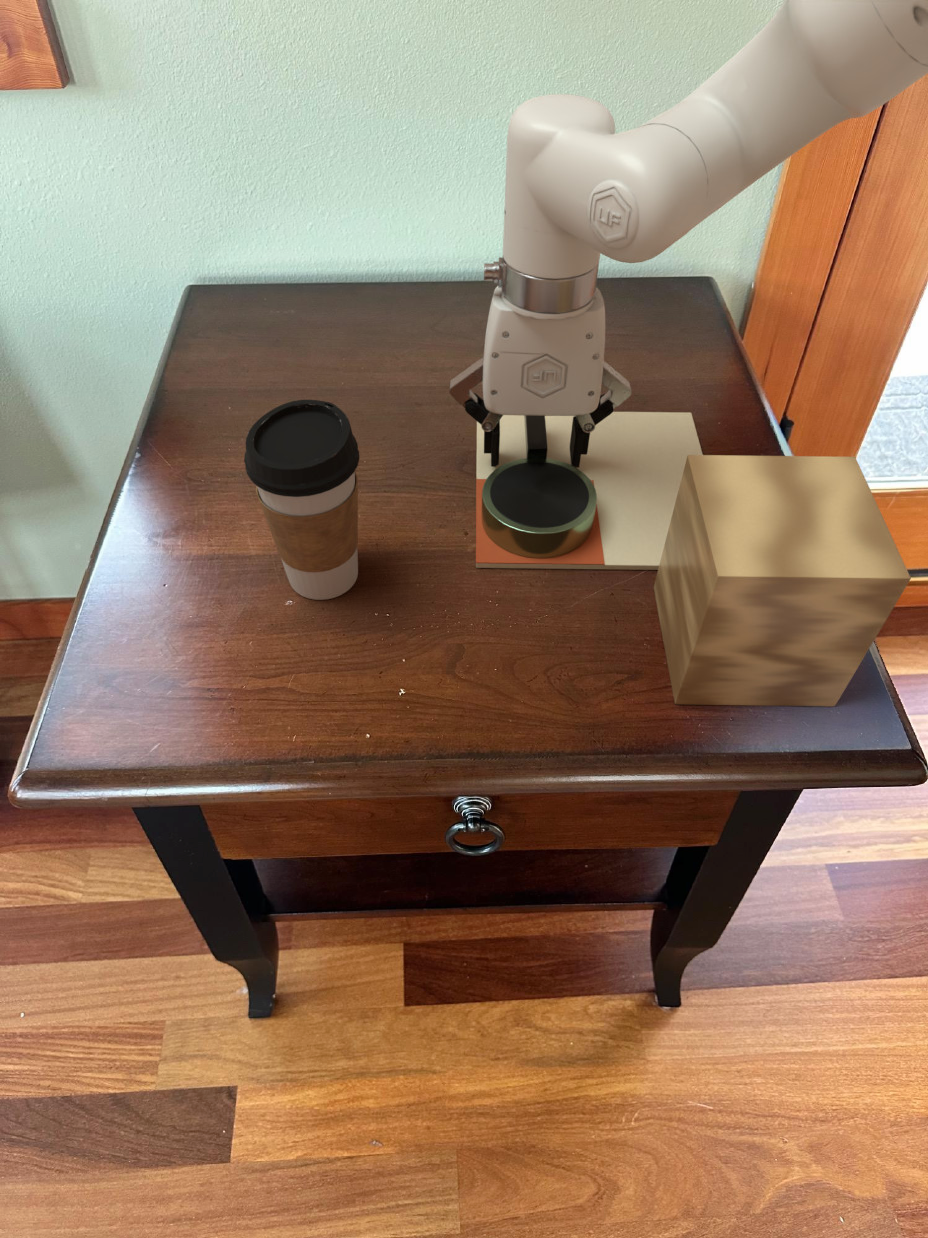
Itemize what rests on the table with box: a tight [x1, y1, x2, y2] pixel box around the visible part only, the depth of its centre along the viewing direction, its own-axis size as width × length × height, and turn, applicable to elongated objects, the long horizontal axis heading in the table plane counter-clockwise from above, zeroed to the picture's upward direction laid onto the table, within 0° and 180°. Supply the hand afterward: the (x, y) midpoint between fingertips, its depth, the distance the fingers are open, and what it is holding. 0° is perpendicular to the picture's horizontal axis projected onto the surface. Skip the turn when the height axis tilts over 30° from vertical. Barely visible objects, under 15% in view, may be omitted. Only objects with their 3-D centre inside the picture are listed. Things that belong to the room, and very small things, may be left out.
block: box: [653, 454, 912, 707], centre depth 61 cm, size 12×12×14 cm
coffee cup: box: [243, 399, 360, 601], centre depth 66 cm, size 8×8×15 cm
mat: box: [475, 411, 704, 571], centre depth 79 cm, size 22×22×1 cm
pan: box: [481, 415, 597, 558], centre depth 76 cm, size 18×10×4 cm, turn 179°
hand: (534, 456), depth 79 cm, fingers open, 7 cm apart
